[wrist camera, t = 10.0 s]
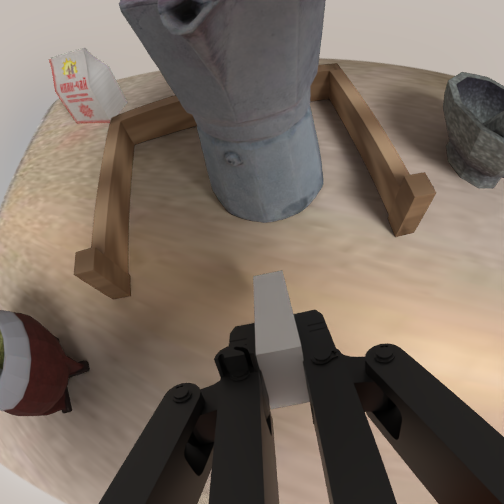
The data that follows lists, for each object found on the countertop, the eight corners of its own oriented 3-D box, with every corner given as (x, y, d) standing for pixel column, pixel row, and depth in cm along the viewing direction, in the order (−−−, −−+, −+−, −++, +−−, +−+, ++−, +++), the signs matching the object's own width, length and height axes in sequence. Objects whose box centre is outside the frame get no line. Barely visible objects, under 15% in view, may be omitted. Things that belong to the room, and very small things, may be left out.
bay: (413, 232, 21) (436, 192, 16) (113, 299, 22) (73, 274, 18) (337, 90, 29) (339, 50, 24) (123, 141, 30) (102, 107, 25)
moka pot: (197, 263, 22) (20, -11, 4) (216, 117, 29) (156, -73, 11) (334, 258, 21) (366, -96, 3) (314, 109, 28) (299, -95, 10)
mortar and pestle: (426, 115, 26) (452, 13, 15) (502, 141, 23) (542, 53, 13) (433, 204, 22) (490, 83, 11) (522, 231, 19) (597, 141, 8)
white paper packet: (92, 104, 35) (59, 49, 26) (127, 102, 33) (95, 39, 24) (76, 123, 34) (40, 68, 25) (111, 122, 32) (73, 58, 23)
